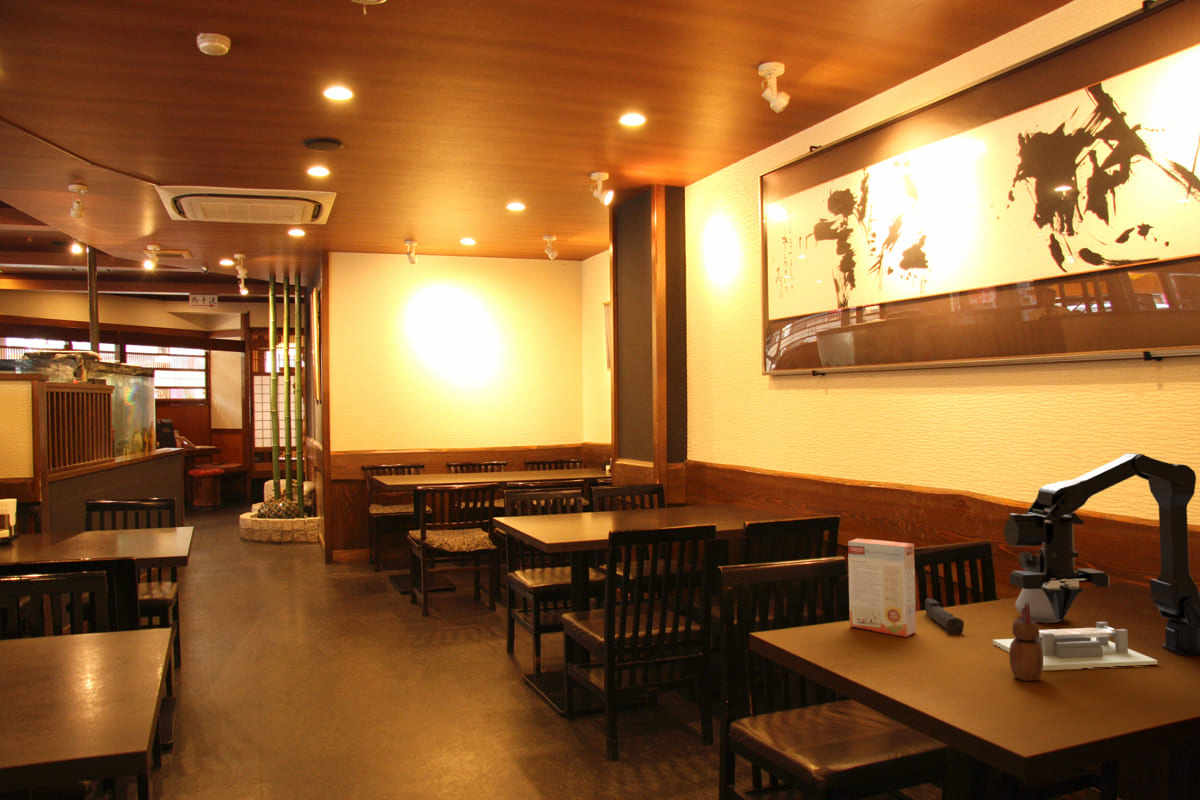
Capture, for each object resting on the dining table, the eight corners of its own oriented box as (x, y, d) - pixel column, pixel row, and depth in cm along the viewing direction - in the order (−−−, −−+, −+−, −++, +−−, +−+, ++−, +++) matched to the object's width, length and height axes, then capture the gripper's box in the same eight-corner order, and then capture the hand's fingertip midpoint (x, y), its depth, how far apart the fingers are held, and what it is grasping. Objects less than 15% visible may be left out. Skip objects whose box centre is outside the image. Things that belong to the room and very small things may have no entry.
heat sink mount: (1096, 640, 182) (1095, 614, 182) (1157, 665, 164) (1156, 637, 164) (992, 644, 180) (992, 618, 180) (1043, 670, 162) (1042, 642, 162)
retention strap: (1108, 632, 175) (1108, 625, 175) (1121, 638, 171) (1121, 630, 171) (1033, 635, 173) (1033, 628, 173) (1045, 641, 169) (1045, 633, 169)
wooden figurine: (1042, 686, 153) (1040, 606, 153) (1008, 681, 156) (1006, 602, 156) (1044, 675, 159) (1043, 598, 159) (1011, 671, 162) (1010, 595, 162)
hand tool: (964, 635, 188) (964, 615, 188) (946, 635, 188) (946, 615, 188) (938, 614, 207) (938, 596, 207) (921, 614, 207) (921, 596, 207)
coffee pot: (1020, 610, 208) (1019, 551, 208) (1072, 617, 201) (1070, 556, 201) (1001, 629, 192) (1000, 565, 192) (1057, 637, 184) (1056, 570, 185)
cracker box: (917, 632, 190) (915, 542, 190) (906, 638, 185) (904, 546, 186) (860, 622, 199) (858, 536, 200) (848, 627, 195) (847, 540, 195)
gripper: (1075, 538, 181) (1076, 608, 181) (994, 540, 179) (995, 611, 179) (1110, 546, 170) (1111, 622, 169) (1024, 549, 168) (1026, 625, 168)
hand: (1059, 619), depth 172 cm, fingers closed
